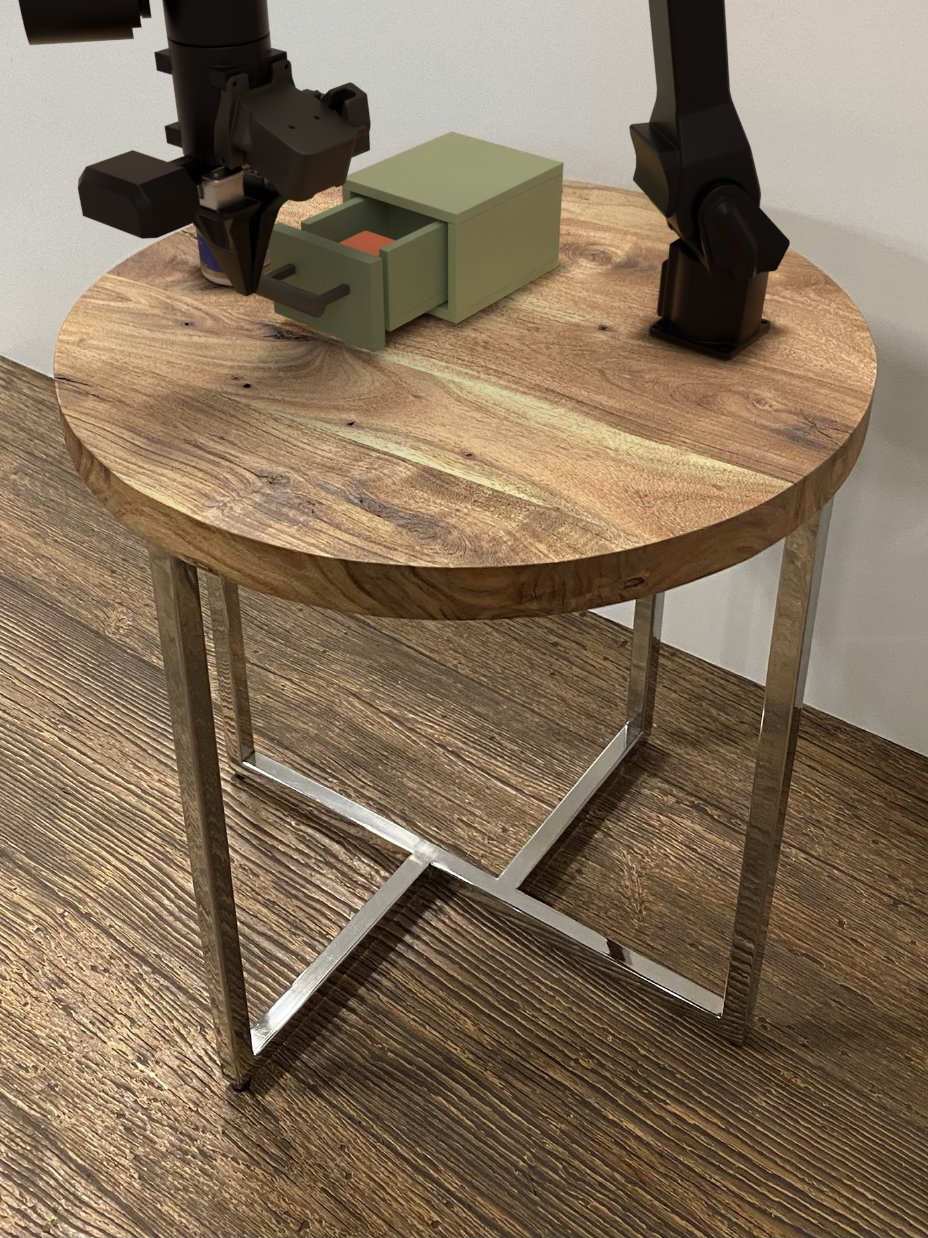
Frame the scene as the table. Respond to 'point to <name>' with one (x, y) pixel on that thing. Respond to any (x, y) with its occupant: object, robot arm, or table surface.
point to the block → (367, 242)
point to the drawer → (357, 270)
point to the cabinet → (476, 212)
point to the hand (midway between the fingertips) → (246, 293)
